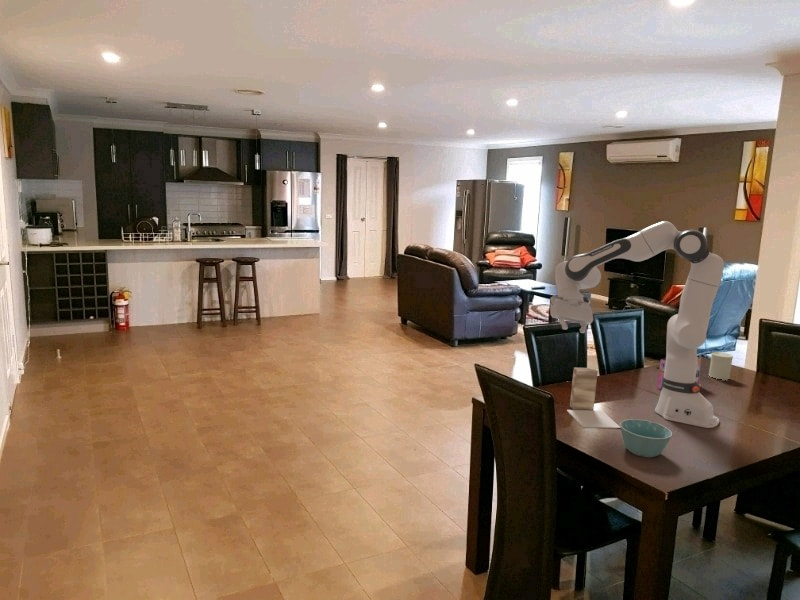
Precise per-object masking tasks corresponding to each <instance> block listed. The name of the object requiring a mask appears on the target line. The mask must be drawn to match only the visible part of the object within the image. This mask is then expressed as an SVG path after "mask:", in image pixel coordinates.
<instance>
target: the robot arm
mask: <svg viewBox="0 0 800 600" xmlns="http://www.w3.org/2000/svg"><path fill="white" fill-rule="evenodd" d="M708 245H709V244H708V240H707V237H706V236H705V234H704V233H703V232H701V231H700V230H695V229H688V230H680V231H679V230H678V229H677V227H676V226H675V225H674V224H673V223H672V222H670V221H667V220H662V221H659V222H657V223H656V222H655V223H654V224H651V225H649V226H647V227H645V228H642V229H640V230H639V231H637V232H635V233H633V234H631V235H628V236H627V237H623V238H620V239H616V240H613V241H612V242H608V243H607V244H605V245H602V246H600V247H598V248H595V249H593V250H591V251H588V252H585V253H581V254H576V255H573V256H571V257H570V258H569V259H568V260H565V261H562V262H560V263H558V264H557V265H556V267H555V271H554V272H555V273H554V278H555V286H556V287H557V292H556V293H557V296H556V295H552V296H551V297H550V298H549V301H550V304H549V308H550V309H549V312H550V316H551V318H552V319H557V320H558V322H559V324H560V326H561V329H562V330H568V329H569V327H568V323H566V321H567V322H571V323H577V324H579V325H580V326H581V327H580V328H579V333H581V334H584V333H586V327H587V326H588V325H590V324H592V323H593V321H594V316H593V309H592V307H591V300H590V299H589V298H588V297H586V296H585V295H583V294H582V293H580V290H590V289H593V288H596V287H597V286H598V285H599V284H600V283H601V281H602V273H601V271H600V269H599V268H598V266H601V265H603V264H605V263H608V262H609V261H612V260H615V259H624V260H629V261H632V262H639V263H640V262H643V261H645V260H649V259H650V258H653V257H655V256H656V255H658V254H660V253H662V252H664V251H666V250H674V251H675V252H676V253H677V255H678V256H679V257H680V258H682V259H685V260H686V261H688V262H689V263H690V270H689V273H688V275H687V278H686V282H685V283H684V288H683V290H682V293H681V295H680V301H679V307H678V313H676V314H674V315H672V316H671V317H670V318H669V319H668V321H667V325H666V348H665V349H666V350H665V351H666V353H665V355H666V356H665V358H666V363H665V371H664V376H663V378H662V382H661V389H660V394H659V398H658V401H657V404H656V407H655V409H654V412H655V413H656V414H658V415H659V416H661V417H662V418H663V419H665V420H668V421H672V422H677V423H682V424H685V425H686V424H687V425H691V426H695V427H701V428H704V429H705V428H706V429H709V428H710V429H711V428H716V427H717V426H718V425H719V423H720V419H719V417H717V416H715V415H714V406H713V404H712V403H711V402H710V401H709V400H708V399H707V398H706V397H704V395H702V393H701V392H700V391H701V385H702V384H701V383H699V384H698V383H697V382H696V381H695V378H696V371H697V364H698V360H697V358H698V348H700V347H701V346H703V345H704V344H705V342H706V340H707V332H708V327H709V323H710V317H711V312H712V308H713V304H714V302H715V298H716V296H717V293H718V291H719V287H720V284H721V281H722V277H723V273H724V268H725V267H724V266H725V262H724V260H723V258H722V257H721V256H720V255H718V254H716V253H712V252H710V249H709V246H708Z"/></svg>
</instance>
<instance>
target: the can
mask: <svg viewBox="0 0 800 600" xmlns="http://www.w3.org/2000/svg"><path fill="white" fill-rule="evenodd" d="M733 358H734V356H733V355H732V354H729V353H725V352H713V351H712V352H711V357H710V362H709V363H710V364H709V370H708V375H709V376H710V377H713V378H716V379H715V380H717V379H722V380H721V381H725V380H726V381H728V380H727V379H731V378H730V377H731V370H732V363H733ZM709 376H708V377H709ZM710 377H709V378H710ZM713 378H712V379H713Z"/></svg>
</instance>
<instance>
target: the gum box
mask: <svg viewBox="0 0 800 600" xmlns="http://www.w3.org/2000/svg"><path fill="white" fill-rule="evenodd" d="M697 360H698V364H697V371H696V378H695V381H696V382H697V383H698V384H700V375H701V367H702V366H701V365H702V360H703V358H702V356H699V357H697ZM665 363H666V357H665V358H661V359H660V363H659V370H658V377H657V385H656V389H658V390H661V382H662V378H663V376H664V371H665Z"/></svg>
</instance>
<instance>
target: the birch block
mask: <svg viewBox="0 0 800 600" xmlns="http://www.w3.org/2000/svg"><path fill="white" fill-rule="evenodd" d="M597 379H598V370H597V369H596V368H594V367H573V374H572V379H571V380H572V381H571V390H570V391H571V392H570V400H569V407H570V408H571V410H594V407H595V400H596V399H595V398H596V390H597V383H598V382H597Z"/></svg>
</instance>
